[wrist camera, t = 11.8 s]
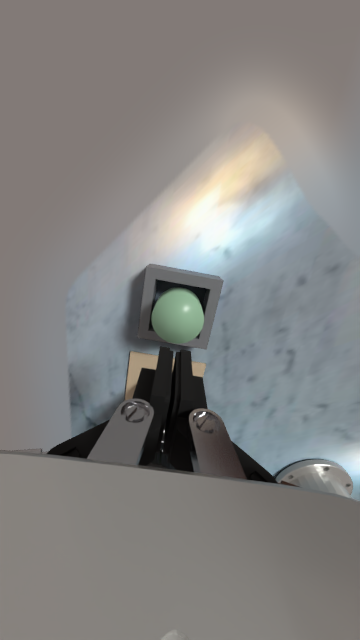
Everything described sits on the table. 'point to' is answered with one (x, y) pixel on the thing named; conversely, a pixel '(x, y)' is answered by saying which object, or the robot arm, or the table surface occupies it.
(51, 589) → the robot arm
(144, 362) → the beige square board
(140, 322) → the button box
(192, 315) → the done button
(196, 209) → the table surface
